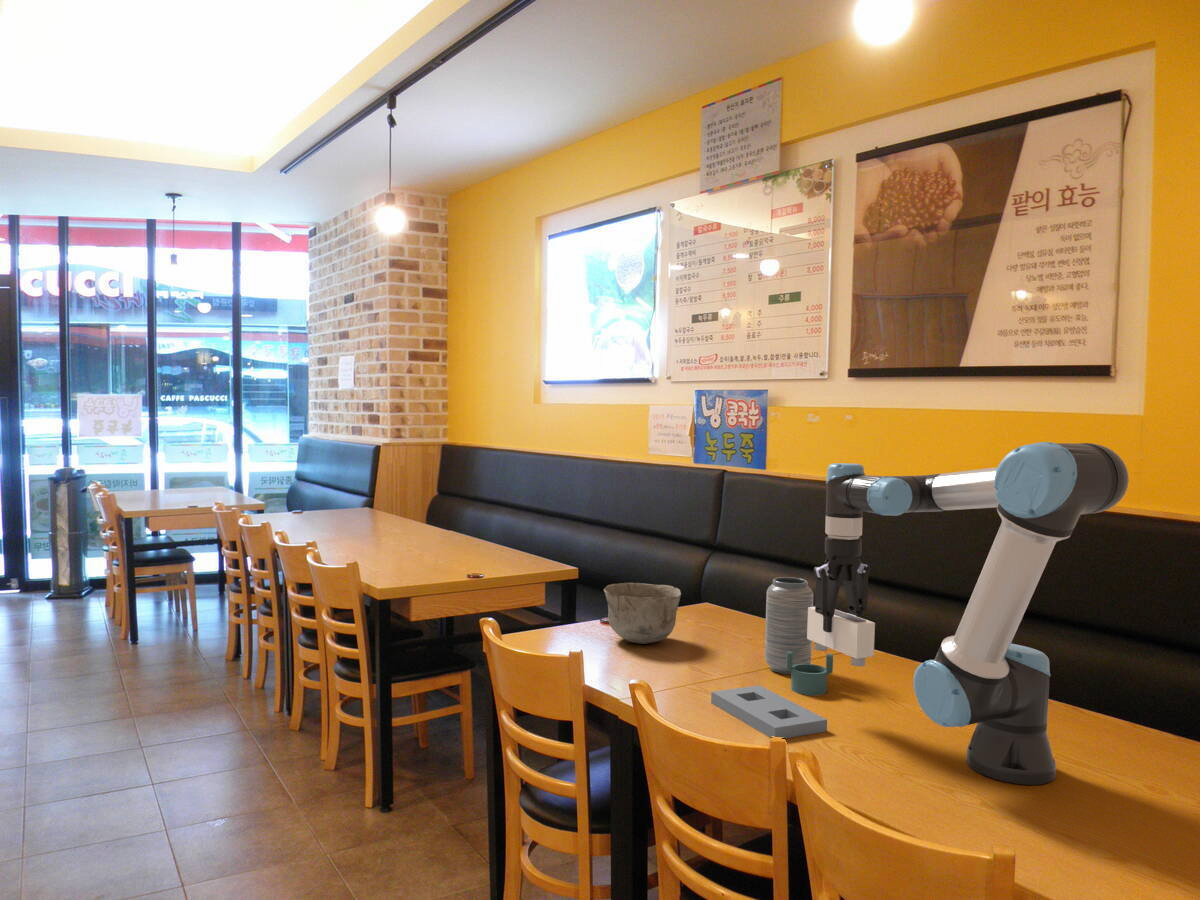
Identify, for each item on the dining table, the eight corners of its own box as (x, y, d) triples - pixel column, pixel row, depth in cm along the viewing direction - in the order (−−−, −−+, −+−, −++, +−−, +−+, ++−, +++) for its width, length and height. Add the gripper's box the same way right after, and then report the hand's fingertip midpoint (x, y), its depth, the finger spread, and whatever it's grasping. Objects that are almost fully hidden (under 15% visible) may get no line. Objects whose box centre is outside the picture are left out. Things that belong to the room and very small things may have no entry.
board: (826, 731, 181) (827, 719, 181) (774, 740, 176) (775, 727, 176) (759, 696, 203) (759, 685, 203) (711, 702, 198) (711, 691, 198)
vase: (795, 661, 232) (798, 575, 231) (819, 674, 221) (822, 583, 220) (756, 664, 228) (758, 576, 227) (778, 677, 217) (781, 585, 216)
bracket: (835, 692, 207) (836, 654, 207) (806, 697, 203) (807, 659, 202) (808, 682, 215) (809, 645, 215) (779, 687, 210) (781, 650, 210)
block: (873, 666, 181) (875, 621, 180) (856, 668, 179) (857, 623, 178) (823, 645, 195) (824, 604, 195) (806, 647, 193) (808, 606, 193)
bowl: (607, 629, 261) (609, 579, 260) (681, 634, 258) (682, 583, 257) (597, 649, 239) (598, 595, 239) (677, 654, 236) (679, 599, 236)
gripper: (863, 532, 193) (860, 638, 194) (798, 535, 185) (795, 645, 186) (888, 537, 186) (884, 646, 187) (821, 540, 179) (818, 654, 180)
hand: (840, 645), depth 187 cm, fingers closed on block, 4 cm apart
